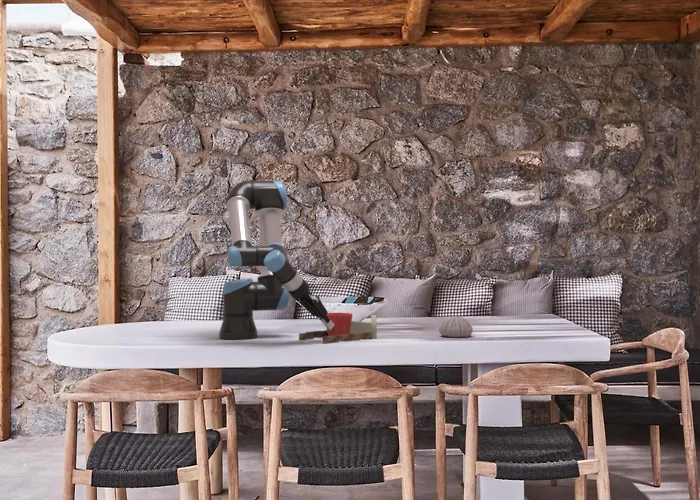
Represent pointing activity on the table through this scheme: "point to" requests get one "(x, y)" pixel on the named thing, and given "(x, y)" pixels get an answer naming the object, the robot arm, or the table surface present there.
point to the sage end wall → (364, 327)
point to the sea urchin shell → (455, 327)
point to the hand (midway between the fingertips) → (331, 327)
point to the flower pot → (340, 323)
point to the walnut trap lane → (334, 336)
